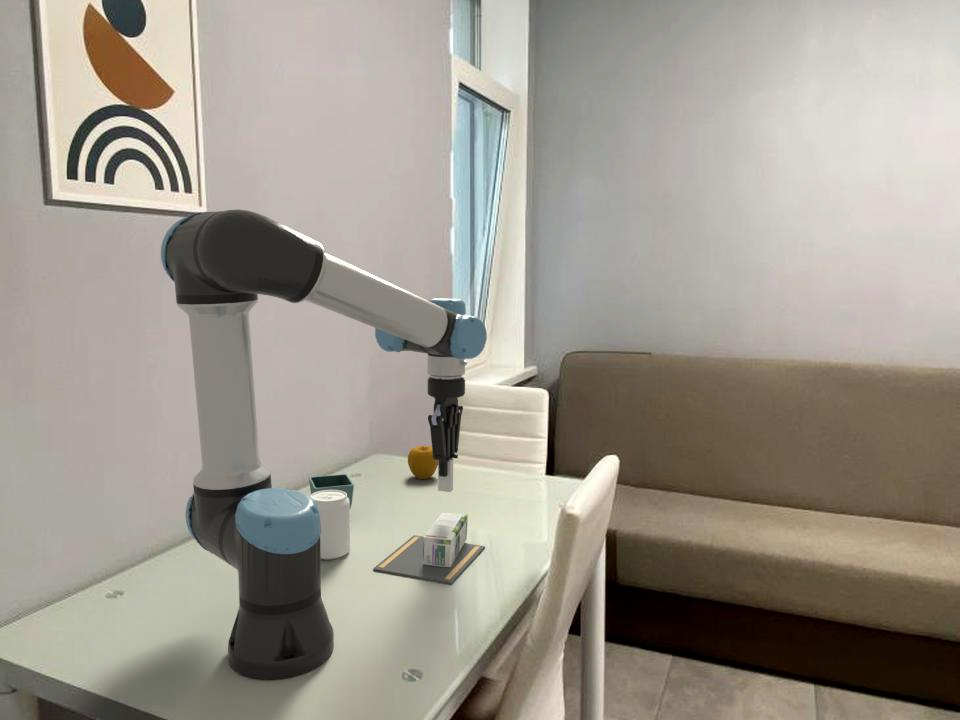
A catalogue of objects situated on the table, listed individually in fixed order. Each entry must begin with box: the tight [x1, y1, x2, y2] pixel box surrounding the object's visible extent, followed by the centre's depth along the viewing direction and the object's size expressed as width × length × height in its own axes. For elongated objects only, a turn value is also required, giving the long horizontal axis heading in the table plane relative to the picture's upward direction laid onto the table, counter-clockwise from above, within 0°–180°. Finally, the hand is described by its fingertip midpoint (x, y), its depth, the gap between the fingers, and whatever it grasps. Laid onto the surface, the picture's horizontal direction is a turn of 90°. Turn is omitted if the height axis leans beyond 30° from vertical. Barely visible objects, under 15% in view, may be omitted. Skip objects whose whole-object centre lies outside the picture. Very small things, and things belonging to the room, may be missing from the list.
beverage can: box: [309, 490, 351, 560], centre depth 141 cm, size 8×8×12 cm
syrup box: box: [423, 512, 468, 567], centre depth 141 cm, size 6×6×14 cm
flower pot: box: [308, 473, 355, 509], centre depth 160 cm, size 9×9×9 cm
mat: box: [372, 534, 486, 585], centre depth 139 cm, size 18×16×1 cm
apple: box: [407, 445, 438, 480], centre depth 193 cm, size 8×8×9 cm
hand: (445, 490), depth 144 cm, fingers closed
